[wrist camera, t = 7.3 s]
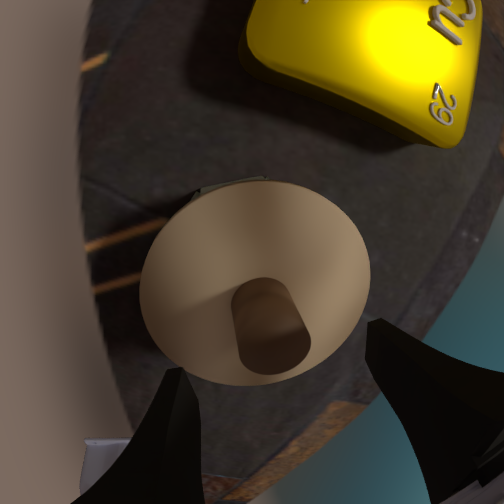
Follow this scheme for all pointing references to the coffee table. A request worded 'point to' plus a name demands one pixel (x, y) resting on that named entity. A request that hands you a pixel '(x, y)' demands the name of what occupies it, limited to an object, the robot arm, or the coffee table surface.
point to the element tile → (373, 59)
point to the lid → (254, 282)
